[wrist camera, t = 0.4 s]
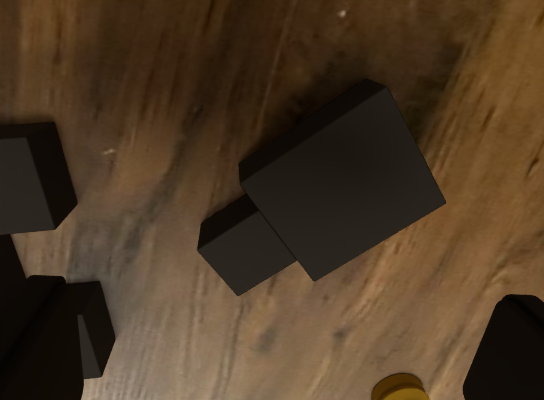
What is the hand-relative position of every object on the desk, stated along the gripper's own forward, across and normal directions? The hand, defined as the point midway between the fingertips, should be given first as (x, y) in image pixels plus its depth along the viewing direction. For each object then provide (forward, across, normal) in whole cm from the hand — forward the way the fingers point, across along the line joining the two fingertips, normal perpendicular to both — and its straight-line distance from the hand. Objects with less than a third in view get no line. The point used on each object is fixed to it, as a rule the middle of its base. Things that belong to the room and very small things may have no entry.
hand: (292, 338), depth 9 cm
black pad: (+14, -3, +2) cm, 14 cm away
